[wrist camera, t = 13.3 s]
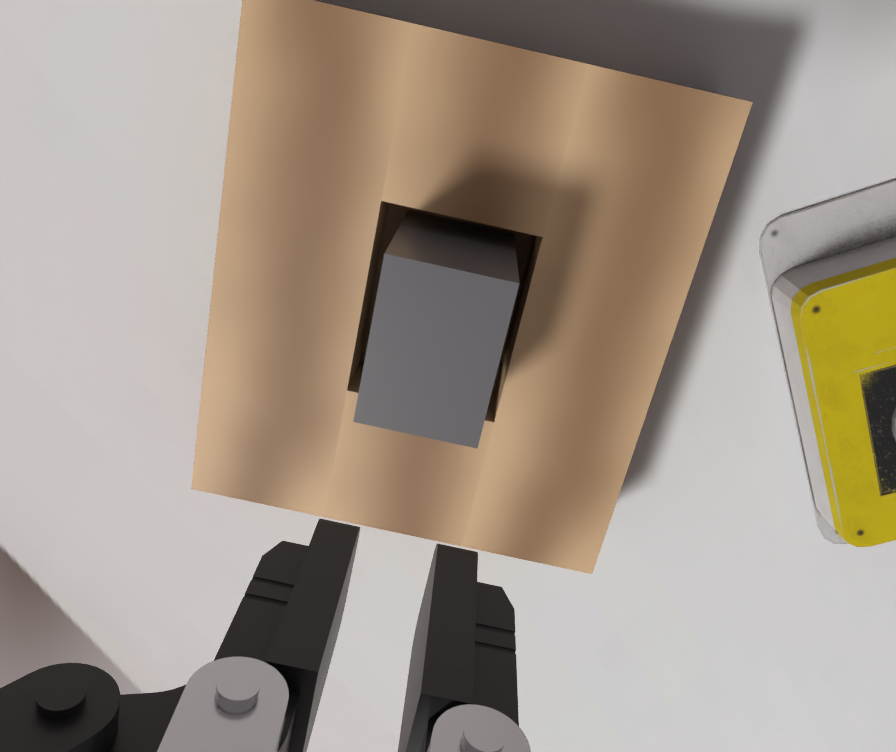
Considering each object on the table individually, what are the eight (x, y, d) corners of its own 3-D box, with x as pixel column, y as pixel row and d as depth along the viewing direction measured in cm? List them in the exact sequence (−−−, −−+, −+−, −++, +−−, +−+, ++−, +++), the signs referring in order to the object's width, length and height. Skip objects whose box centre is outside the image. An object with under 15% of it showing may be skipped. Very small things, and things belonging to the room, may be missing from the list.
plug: (381, 346, 32) (353, 421, 25) (408, 210, 29) (384, 253, 23) (480, 368, 32) (477, 448, 25) (513, 233, 30) (519, 283, 23)
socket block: (223, 442, 35) (191, 488, 31) (277, -7, 28) (244, -16, 24) (581, 519, 35) (592, 573, 31) (719, 96, 28) (752, 102, 25)
